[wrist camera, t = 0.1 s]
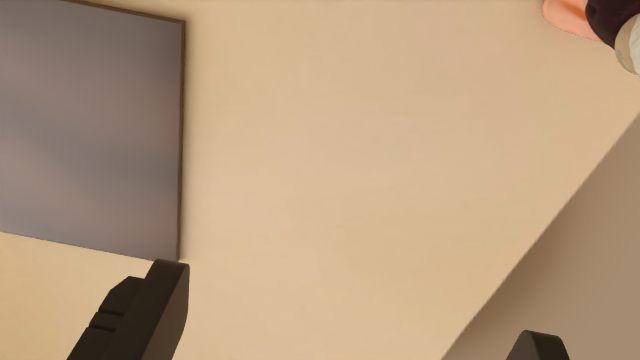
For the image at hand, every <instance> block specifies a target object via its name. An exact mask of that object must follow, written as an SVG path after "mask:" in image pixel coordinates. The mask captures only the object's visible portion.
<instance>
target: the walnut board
mask: <svg viewBox="0 0 640 360" xmlns="http://www.w3.org/2000/svg"><path fill="white" fill-rule="evenodd" d="M184 46H185V21H181V20H176V19H170V18H165V17H160V16H155V15H150V14H145V13H140V12H135V11H130V10H125V9H119V8H114V7H109V6H104V5H99V4H94V3H89V2H84V1H79V0H0V232H5V233H10V234H16V235H21V236H26V237H31V238H36V239H42V240H47V241H52V242H57V243H63V244H68V245H73V246H78V247H83V248H89V249H94V250H99V251H104V252H110V253H115V254H120V255H125V256H130V257H136V258H141V259H146V260H151V261H155V260H156V259H157V258H159V259H165V260H170V261H175V262H178V261H179V230H180V194H181V157H182V120H183V83H184Z"/></svg>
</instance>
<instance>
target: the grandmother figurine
mask: <svg viewBox="0 0 640 360" xmlns="http://www.w3.org/2000/svg"><path fill="white" fill-rule="evenodd" d="M542 11H543V16H544V18H545V20H546V21H547V22H548V23H549V24H551V25H553V26H555V27H557V28H559V29H561V30H564V31H566V32H569V33H573V34H577V35H581V36H584V37H586V38H589V39H592V40H595V41H600V42H604V43H605V44H607V45H609V46H610V47H612V48H613V49H614V50H615V53H616V57H617V59H618V61H619V63H620V64H621V65H622V66H623V67H624V68H625V69H626V70H627V71H629V72H631V73H633V74H636V75H639V82H640V0H545V1H544V3H543V7H542Z"/></svg>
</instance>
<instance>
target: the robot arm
mask: <svg viewBox="0 0 640 360" xmlns="http://www.w3.org/2000/svg"><path fill="white" fill-rule="evenodd" d="M189 275H190V267H189V264H185V263H180V262H175V261H170V260H165V259H159V258H157V259H156V260H155V261H154V263H153V264H152V266H151V268H150V270H149V271H148V273H147V275H146V277H145V279H142V278H137V277H132V276H128V277H127V278H126V279H124V280H123V281H122V282H120V283H119V284H118V285H116V286H115V287H114V288H112V289H111V290H110V291H109V293H108V294H107V296H106V298H105V299H104V301H103V302H102V304H101V305H100V307H99V310H98V312H96V313H95V315H94V317H93V318H92V320H91V321H90V323H89V326H88V327H87V328H86V329H85V331H84V333H83V334H82V336H81V337H80V339H79V340H78V342H77V344H76V345H75V347H74V348H73V350H72V352H71V353H70V355H69V356H68V358H67V360H172V357H173V355H174V353H175V350H176V348H177V345H178V343H179V341H180V338H181V336H182V333H183V330H184V327H185V323H186V319H187V313H188V298H189ZM506 360H570V359H569V356H568V354H567V351H566V349H565V346H564V344H563V342H562V340H561V338H559V337H558V336H555V335H550V334H544V333H539V332H534V331H529V330H524V331H523V332H522V333H521V334H520V335H519V337H518V339H517V341H516V343H515V344H514V346H513V348H512V350H511V352H510V353H509V355H508V357H507V359H506Z"/></svg>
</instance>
